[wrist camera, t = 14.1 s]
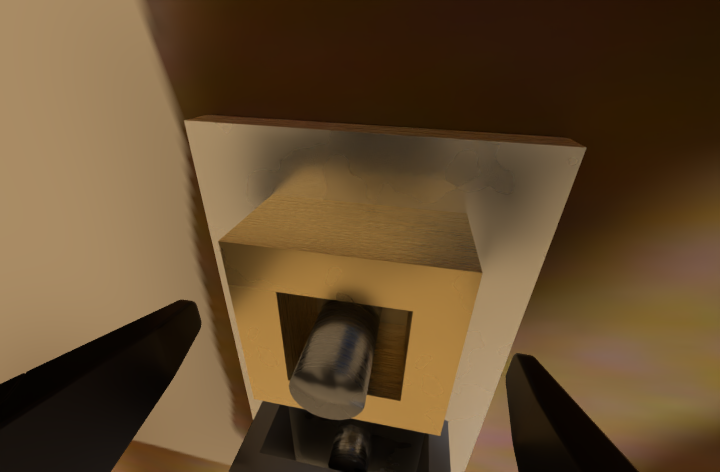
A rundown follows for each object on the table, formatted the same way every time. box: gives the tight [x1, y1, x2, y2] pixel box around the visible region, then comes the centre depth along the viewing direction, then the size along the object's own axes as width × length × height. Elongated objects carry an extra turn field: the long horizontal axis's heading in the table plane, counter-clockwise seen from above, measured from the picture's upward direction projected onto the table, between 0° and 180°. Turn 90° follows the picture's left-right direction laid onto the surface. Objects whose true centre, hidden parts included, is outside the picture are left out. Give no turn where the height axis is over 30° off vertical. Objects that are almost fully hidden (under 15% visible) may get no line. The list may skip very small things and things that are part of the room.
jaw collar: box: [218, 195, 483, 436], centre depth 10 cm, size 6×6×3 cm
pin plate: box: [184, 115, 586, 472], centre depth 14 cm, size 11×26×6 cm, turn 179°
